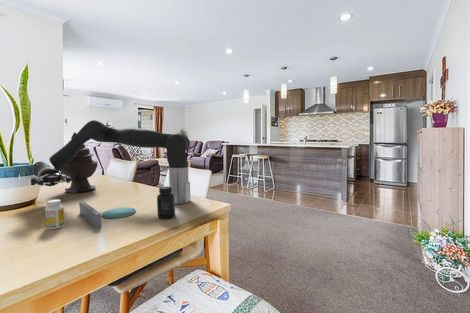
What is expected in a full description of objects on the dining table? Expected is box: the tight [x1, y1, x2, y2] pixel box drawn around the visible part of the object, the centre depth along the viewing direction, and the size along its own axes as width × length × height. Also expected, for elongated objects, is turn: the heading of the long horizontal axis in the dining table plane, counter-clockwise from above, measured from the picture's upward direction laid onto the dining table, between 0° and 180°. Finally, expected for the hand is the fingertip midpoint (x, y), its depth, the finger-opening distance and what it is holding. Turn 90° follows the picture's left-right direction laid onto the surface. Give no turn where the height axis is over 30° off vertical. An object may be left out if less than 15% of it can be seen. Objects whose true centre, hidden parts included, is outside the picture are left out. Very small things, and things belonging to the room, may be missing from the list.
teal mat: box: [100, 206, 137, 220], centre depth 105 cm, size 13×13×1 cm
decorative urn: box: [59, 131, 99, 194], centre depth 146 cm, size 20×20×35 cm
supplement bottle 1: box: [44, 199, 65, 230], centre depth 89 cm, size 5×5×10 cm
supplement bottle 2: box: [156, 186, 176, 220], centre depth 100 cm, size 7×7×12 cm
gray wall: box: [78, 200, 102, 229], centre depth 97 cm, size 24×2×5 cm, turn 44°
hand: (55, 181), depth 97 cm, fingers open, 8 cm apart
